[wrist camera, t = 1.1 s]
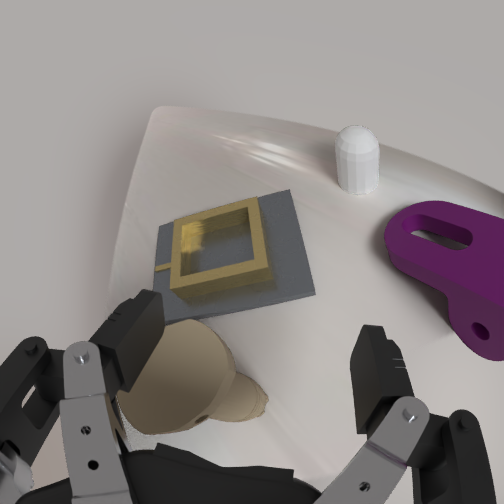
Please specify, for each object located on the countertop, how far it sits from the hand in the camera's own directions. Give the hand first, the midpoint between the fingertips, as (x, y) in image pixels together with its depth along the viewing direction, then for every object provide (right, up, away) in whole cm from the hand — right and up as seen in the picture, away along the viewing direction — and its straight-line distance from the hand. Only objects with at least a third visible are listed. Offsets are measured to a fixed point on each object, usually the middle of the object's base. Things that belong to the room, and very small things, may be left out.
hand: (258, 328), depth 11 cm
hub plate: (-3, +2, +23) cm, 23 cm away
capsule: (+13, +12, +24) cm, 30 cm away
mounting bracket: (+21, 0, +14) cm, 25 cm away
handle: (0, -11, +13) cm, 17 cm away
